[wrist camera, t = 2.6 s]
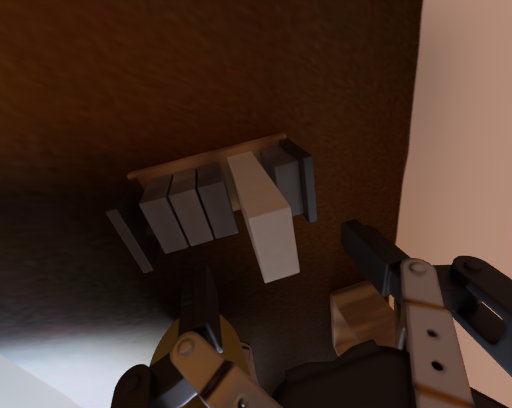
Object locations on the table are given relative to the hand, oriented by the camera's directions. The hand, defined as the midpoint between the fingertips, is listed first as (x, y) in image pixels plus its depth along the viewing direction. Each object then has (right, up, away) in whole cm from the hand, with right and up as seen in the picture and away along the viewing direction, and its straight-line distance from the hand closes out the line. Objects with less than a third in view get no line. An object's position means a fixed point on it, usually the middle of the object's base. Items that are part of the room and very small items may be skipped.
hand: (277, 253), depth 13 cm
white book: (-2, +5, +10) cm, 12 cm away
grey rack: (-5, +5, +10) cm, 13 cm away
